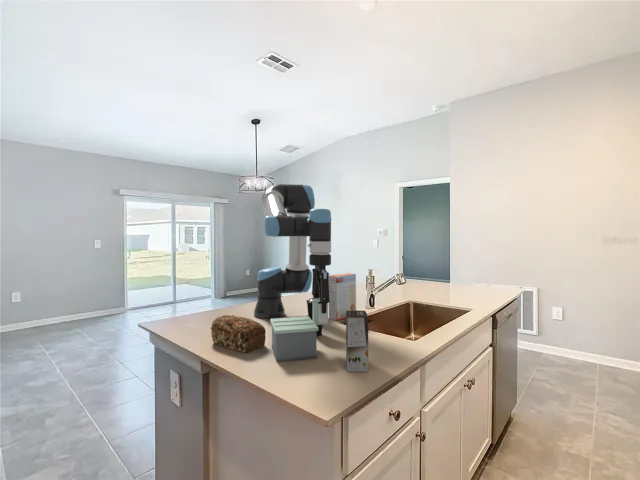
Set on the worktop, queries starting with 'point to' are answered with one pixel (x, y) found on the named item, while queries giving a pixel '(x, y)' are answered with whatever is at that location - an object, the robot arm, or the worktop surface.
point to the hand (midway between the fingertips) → (320, 319)
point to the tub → (294, 345)
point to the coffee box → (357, 341)
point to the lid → (298, 322)
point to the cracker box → (341, 295)
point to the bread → (238, 333)
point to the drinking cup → (310, 314)
